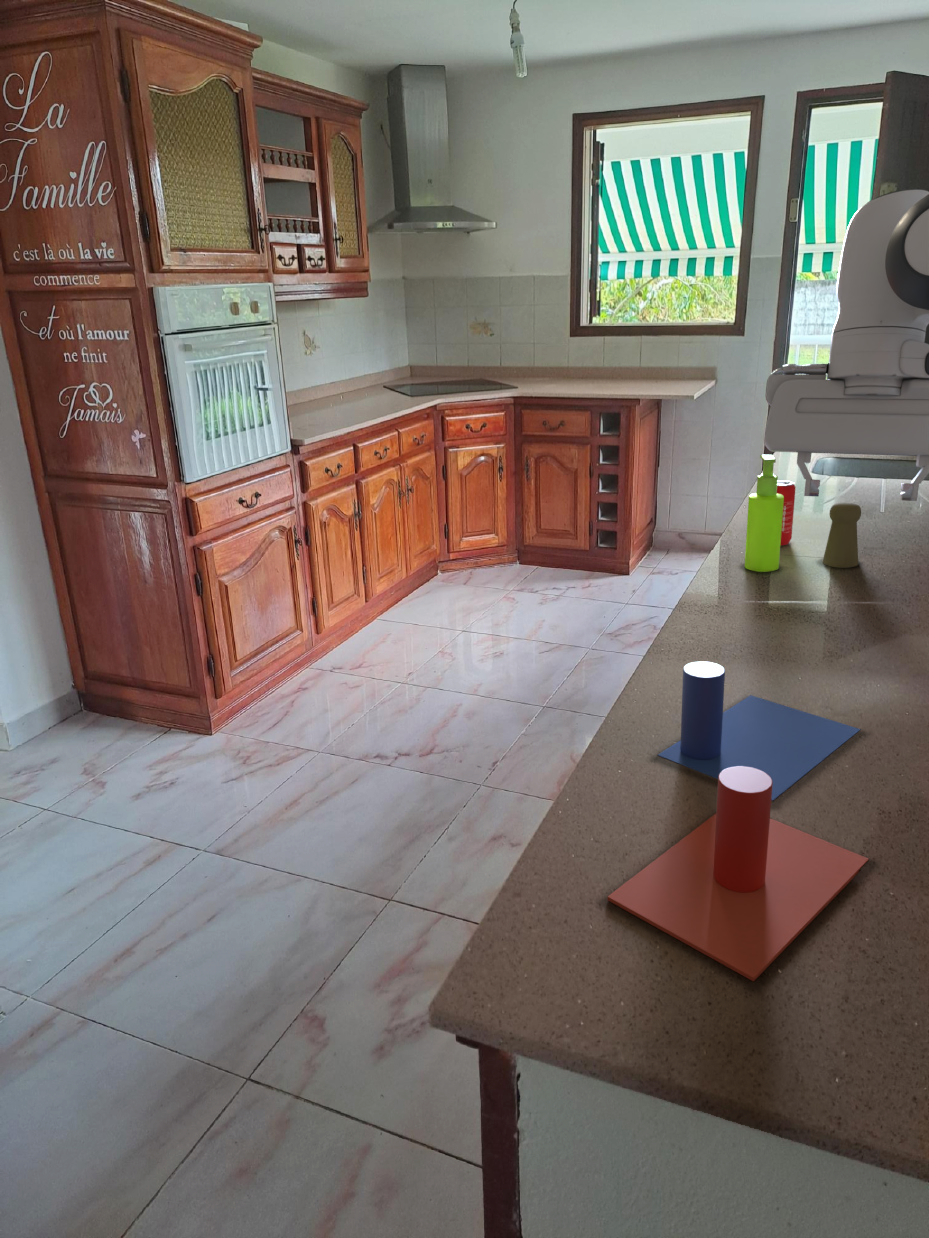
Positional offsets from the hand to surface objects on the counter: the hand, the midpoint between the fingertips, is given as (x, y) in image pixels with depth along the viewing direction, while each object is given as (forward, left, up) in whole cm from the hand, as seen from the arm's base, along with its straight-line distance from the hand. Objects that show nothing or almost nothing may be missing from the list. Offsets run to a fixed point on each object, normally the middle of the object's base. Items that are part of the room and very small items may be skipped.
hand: (858, 498), depth 93 cm
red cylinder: (-6, +32, -27) cm, 42 cm away
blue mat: (+4, +9, -27) cm, 29 cm away
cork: (+27, -60, -28) cm, 71 cm away
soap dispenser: (+37, -50, -28) cm, 68 cm away
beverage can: (+42, -65, -28) cm, 82 cm away
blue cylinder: (+8, +15, -27) cm, 32 cm away
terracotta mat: (-7, +32, -27) cm, 43 cm away
